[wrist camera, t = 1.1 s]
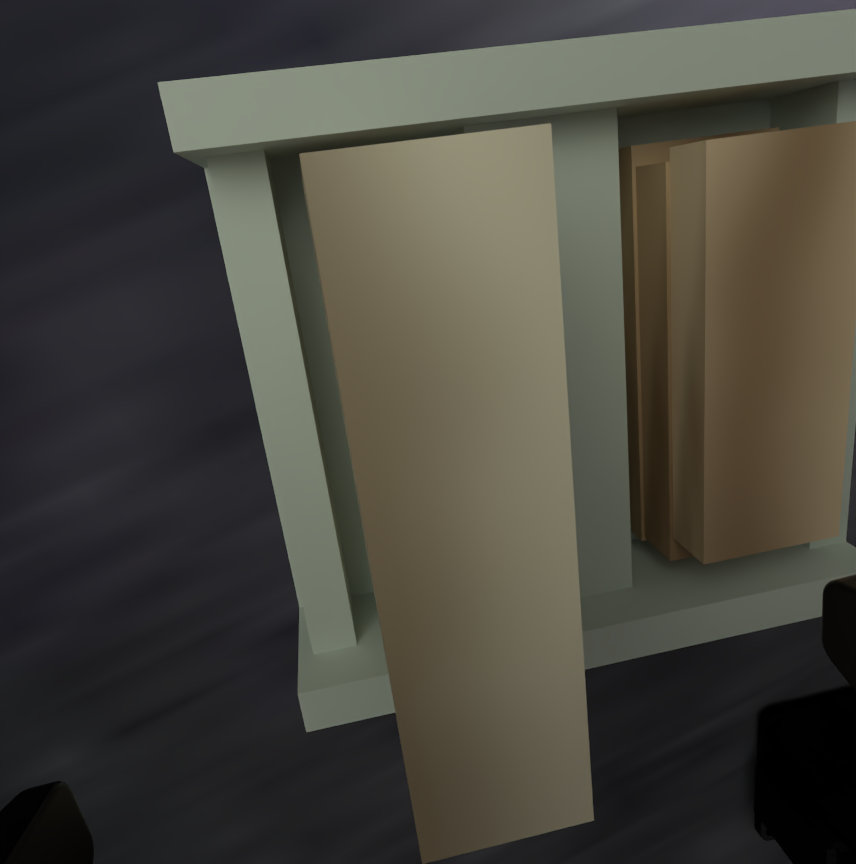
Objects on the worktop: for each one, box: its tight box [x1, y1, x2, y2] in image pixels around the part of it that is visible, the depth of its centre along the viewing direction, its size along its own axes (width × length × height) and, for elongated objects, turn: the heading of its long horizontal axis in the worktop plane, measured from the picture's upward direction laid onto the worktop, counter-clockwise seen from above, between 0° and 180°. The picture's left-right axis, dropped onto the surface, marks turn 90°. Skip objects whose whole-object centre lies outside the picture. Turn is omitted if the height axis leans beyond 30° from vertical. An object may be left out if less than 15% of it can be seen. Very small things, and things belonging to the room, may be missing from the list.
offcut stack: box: [618, 121, 856, 564], centre depth 18 cm, size 4×11×4 cm, turn 7°
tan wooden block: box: [299, 123, 594, 864], centre depth 14 cm, size 3×11×10 cm, turn 7°
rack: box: [158, 9, 856, 732], centre depth 18 cm, size 16×15×5 cm
